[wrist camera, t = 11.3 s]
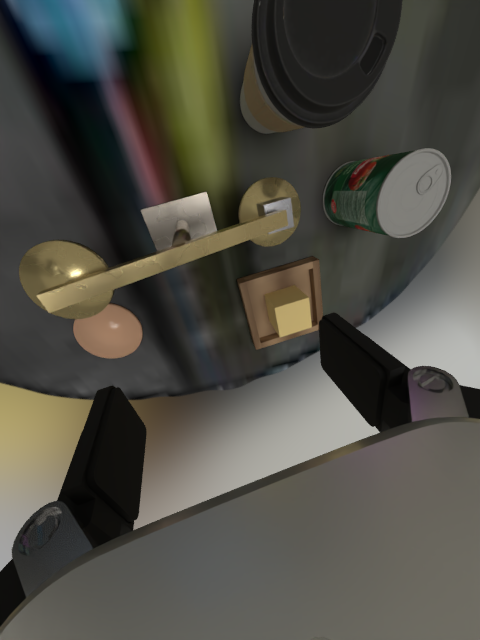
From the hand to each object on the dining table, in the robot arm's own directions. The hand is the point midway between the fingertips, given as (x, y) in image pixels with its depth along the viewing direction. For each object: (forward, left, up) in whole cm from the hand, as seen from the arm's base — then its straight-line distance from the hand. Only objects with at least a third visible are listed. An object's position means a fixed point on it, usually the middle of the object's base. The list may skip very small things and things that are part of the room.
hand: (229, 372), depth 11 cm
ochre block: (+10, -11, -25) cm, 29 cm away
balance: (-1, +4, -25) cm, 26 cm away
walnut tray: (+10, -11, -25) cm, 29 cm away
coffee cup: (+12, +14, -26) cm, 31 cm away
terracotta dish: (-16, -7, -25) cm, 31 cm away
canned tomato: (+22, +2, -26) cm, 34 cm away
